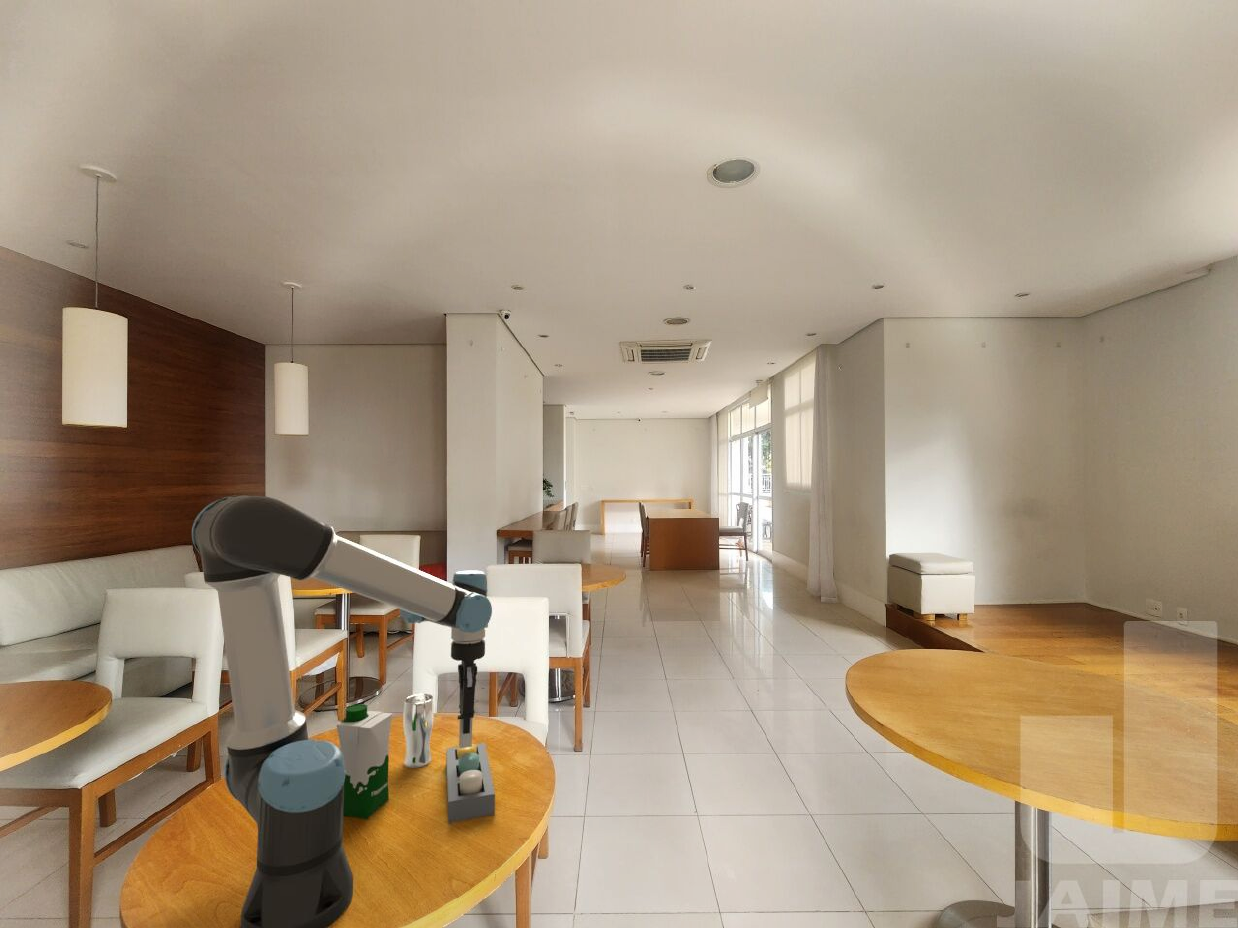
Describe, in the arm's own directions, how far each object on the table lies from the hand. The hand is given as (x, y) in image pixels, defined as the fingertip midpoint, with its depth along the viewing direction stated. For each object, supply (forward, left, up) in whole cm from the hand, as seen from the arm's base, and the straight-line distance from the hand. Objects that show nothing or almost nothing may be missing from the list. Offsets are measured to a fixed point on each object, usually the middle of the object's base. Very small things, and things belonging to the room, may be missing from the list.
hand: (465, 745), depth 123 cm
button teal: (-3, -1, -5) cm, 6 cm away
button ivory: (-11, -1, -5) cm, 12 cm away
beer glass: (+13, +10, -8) cm, 18 cm away
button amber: (+5, -1, -6) cm, 8 cm away
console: (-3, -1, -8) cm, 8 cm away
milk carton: (-4, +20, -8) cm, 22 cm away
